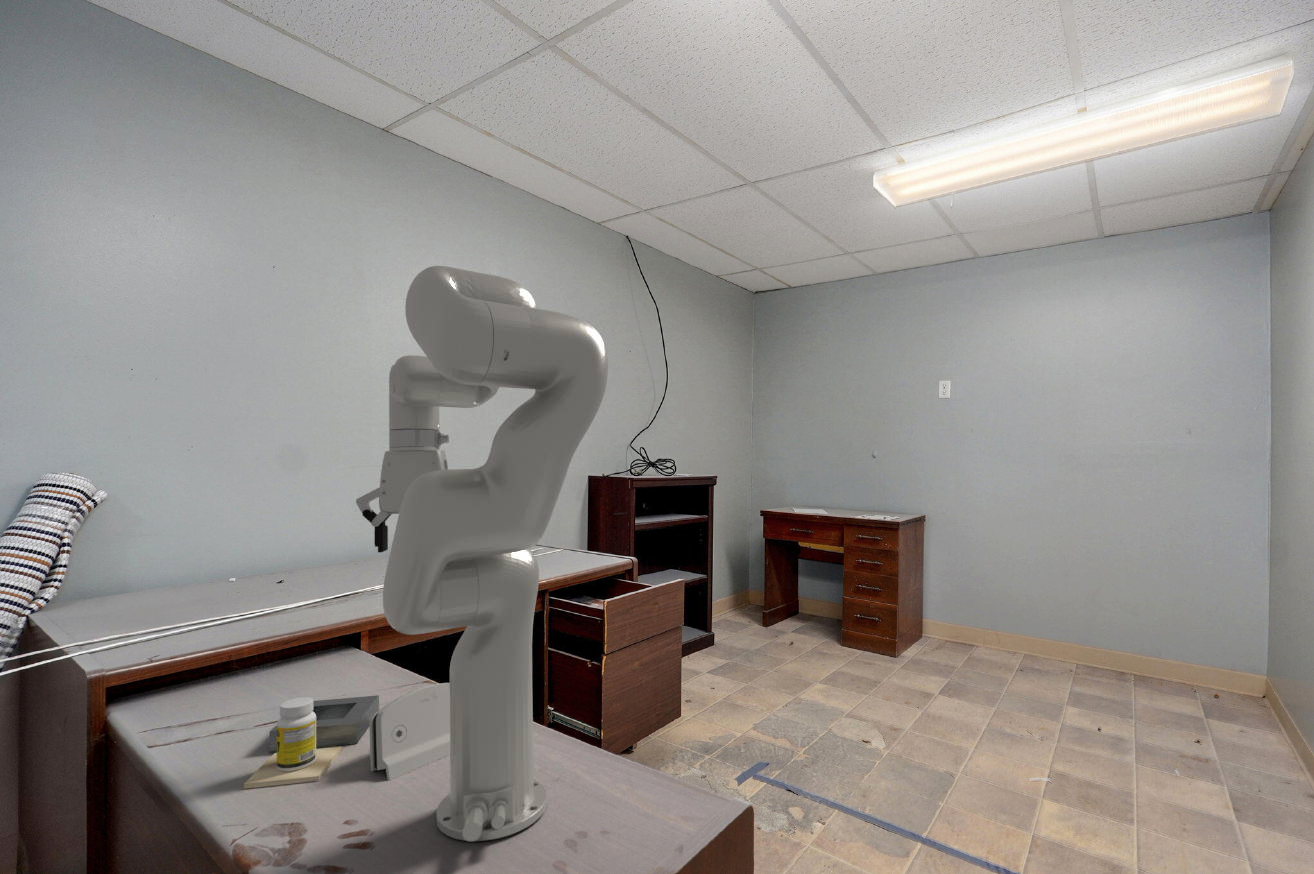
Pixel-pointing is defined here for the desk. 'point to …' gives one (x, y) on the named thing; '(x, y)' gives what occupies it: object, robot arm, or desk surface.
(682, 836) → the desk surface
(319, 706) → the socket block
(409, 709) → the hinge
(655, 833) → the desk surface
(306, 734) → the supplement bottle
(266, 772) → the pad
